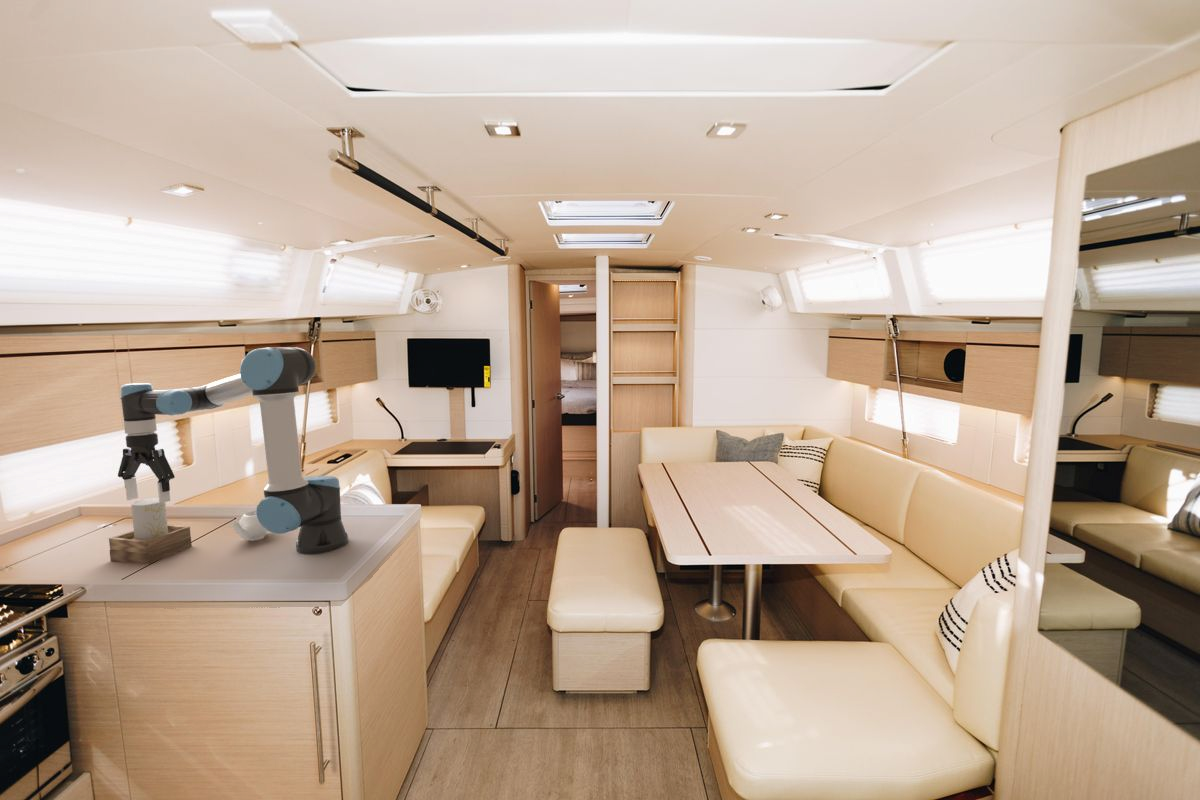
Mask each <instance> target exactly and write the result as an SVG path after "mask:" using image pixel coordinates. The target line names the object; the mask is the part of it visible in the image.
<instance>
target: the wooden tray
mask: <svg viewBox="0 0 1200 800" xmlns="http://www.w3.org/2000/svg"><path fill="white" fill-rule="evenodd" d="M167 527H168V533H167V534H164V535H161V536H158V537H155V538H152V539H149V540H147V541H143V540H135V539H134V530H131V531H127V532H124V533H121V534H119V535H116V536H111V537H109V538H108V543H109V551H110V550H119V551H128V552H137V553H149V552H151V551H154V550H157V549H160V548H162V547H165V546H168V545H171V544H173V543H176V542H179V541H182V540H184V539H187V538H190V537H191V526H187V525H178V524H177V525H175V524H167ZM191 538H192V537H191Z"/></svg>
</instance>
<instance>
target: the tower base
mask: <svg viewBox="0 0 1200 800" xmlns="http://www.w3.org/2000/svg"><path fill="white" fill-rule="evenodd" d="M192 545H193V544H192V537H190V538H187V539H184V540H182V541H179V542H176V543H173V544H171V545H168V546H165V547H162V548H160V549H157V550H154V551H151V552H149V553H137V552H128V551H119V550H110V549H109V559H110V562H121V563H134V564H135V563H137V564H151V563H154V562H157V561H159V560H162V559H164V558H166V557H170V556H171V555H173V554H176V553H178V552H180V551H183V550H185V549H189V548H190V547H192Z"/></svg>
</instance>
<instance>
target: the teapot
mask: <svg viewBox="0 0 1200 800" xmlns="http://www.w3.org/2000/svg"><path fill="white" fill-rule="evenodd" d="M231 524H232V527H233V530H234V531H235V532H236V534H237V535H238V537H240V538H241V539H244V540H248V541H254V542H255V541H259V540H262V539H264V538H265V537H266V534H267V533H268V532H269V531H268V530H267V529H266V528H264V527H263V526H262V525H261V524H260V522H259V520H258V518H257V514H256V510H252V511H247V512H245V513H244V514H242V516H241V517H240V519H239V521H238V520H237V521H233V522H231Z"/></svg>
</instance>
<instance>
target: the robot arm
mask: <svg viewBox="0 0 1200 800" xmlns="http://www.w3.org/2000/svg"><path fill="white" fill-rule="evenodd" d="M316 372H317V363H316V359H315V358H314V356H313V355H312V354H311V353H310V352H309V351H307V350H305V349H303V348H300V347H293V346H291V347H277V346H276V347H275V346H274V347H271V346H270V347H269V346H267V347H262V348H261V347H260V348H256V349H252V350H251V351H249V352H248V353H247V354H245V356H244V357H243V359H242V360H241V363H240V367H239V373H238V374H235V375H232V376H228V377H224V378H222V379H219V380H217V381H213V382H210V383H207V384H204V385H202V386H201V385H200V386H196V387H185V388H174V389H154V388H153V384H151V383H149V382H145V383H144V382H142V383H141V382H140V383H139V382H138V383H125V384H122V386H121V387H120V400H121V406H122V407H121V408H122V415H123V416H122V417H123V426H124V429H123V430H124V433H125V434H126V436H125V443H126V444H125V445H126V448H123V449H122V457H121V461H120V465H119V469H118V472H117V477H118V478H122V480H124V488H125V493H126V494H125V495H126V501H131V500H135V499H136V500H137V499H138V498H139V494H138V485H137V478H136V477H137V476H136V473H137V471H138V469H140V468H139V467H140V466H141V464H143V465H145V466H148V467H149V469H150V470H151V471H152V473H153V474H154V475H155V476H156V478H157V479H158V481H157V491H158V498H159V503H163V502H165V503H167V502H170V501H171V494H170V493H171V492H170V491H171V487H170V480H173V479H175V478H176V476H175V474H174V471H173V469H172V468H171V465H170V463H169V461H168V459H167V457H166V454H165V450H164V449H163V448H159V449H156V446H157V445H159V437H158V436H159V435H158V433H157V420H156V417H157V416H156V415H162V416H163V415H165V416H166V415H168V416H175V415H177V416H179V415H183V414H186V413H188V412H196V411H201V410H202V411H203V410H204V411H205V410H213V409H218V408H220V407H222V406H223V405H224V404H226V403H230V402H233V401H236V400H240V399H243V398H246V397H249V396H253V398H255V399H256V400H258V402H259V406H260V417H261V425H262V426H261V427H262V433H263V444H264V451H265V460H266V468H267V475H268V476H267V477H268V483H267V484H266V485H265V486H264V488H263V499H261V500H259V501H260V502H259V503H258V505H256V510H255V511H256V514H257V518H258V520H259V522H260V524H261V525H262V526H263V527H264V528H266V529H267V530H268V531H267V532H269V533H272V534H275V535H277V534H279V535H282V534H283V535H284V534H286V533H290V532H293V531H296V530H297V529H299V528H300V530H299V532H298V535H297V536H298V537H297V540H296V541H295V548H296V549H295V550H296V552H297V553H298V554H303V555H318V554H324V553H330V552H333V551H337V550H339V549H342V548H343V547H346V546H347V545H348V543H349V535H348V533H347V532H346V529H345V527H344V524H343V521H342V509H341V508H342V506H341V487H340V481H339V478H338V477H336V476H333V475H332V476H331V475H314V476H303V473H302V465H301V456H300V447H299V446H300V444H299V434H298V426H297V418H296V407H295V401H294V400H295V398H296V397H297V395H298V394H299V393H300V392H299V391H300V390H299V386H300V385H304V384H307V383H309V382H310V381H311V380H312V379H313V378H314V377H315V375H316Z"/></svg>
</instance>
